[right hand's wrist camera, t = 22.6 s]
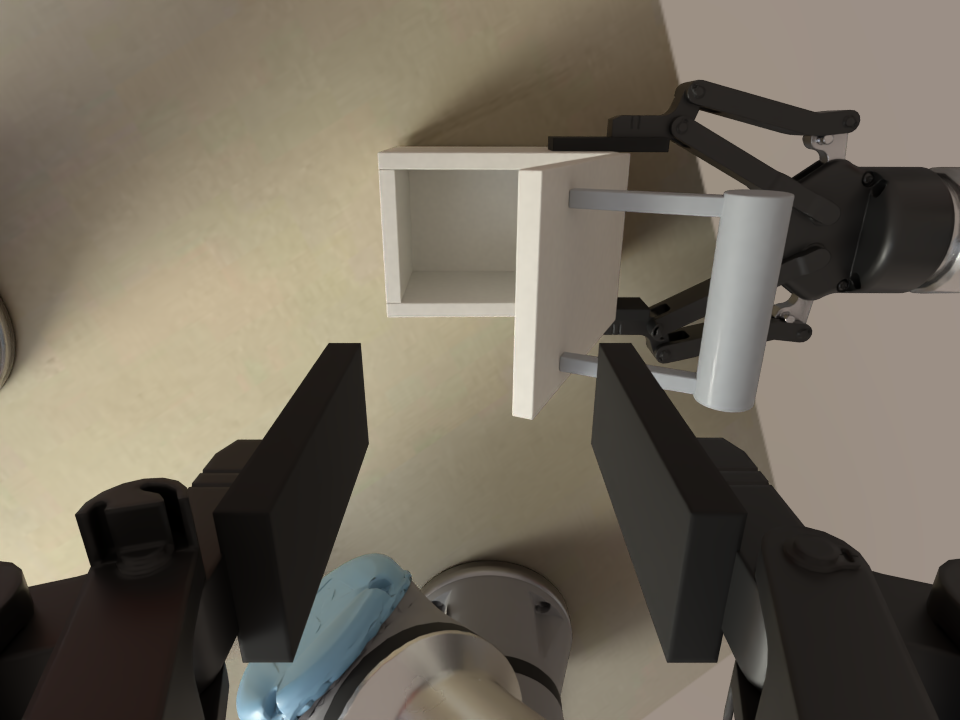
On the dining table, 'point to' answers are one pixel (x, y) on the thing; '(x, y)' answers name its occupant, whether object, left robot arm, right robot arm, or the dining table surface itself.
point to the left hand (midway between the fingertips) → (546, 230)
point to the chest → (454, 227)
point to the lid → (595, 278)
